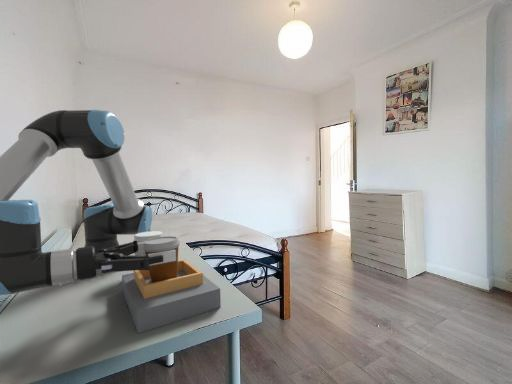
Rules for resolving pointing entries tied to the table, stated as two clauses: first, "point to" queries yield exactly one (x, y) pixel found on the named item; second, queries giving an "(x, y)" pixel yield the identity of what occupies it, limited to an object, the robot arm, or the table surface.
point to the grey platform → (168, 296)
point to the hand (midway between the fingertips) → (168, 249)
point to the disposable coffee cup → (163, 269)
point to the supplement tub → (146, 238)
